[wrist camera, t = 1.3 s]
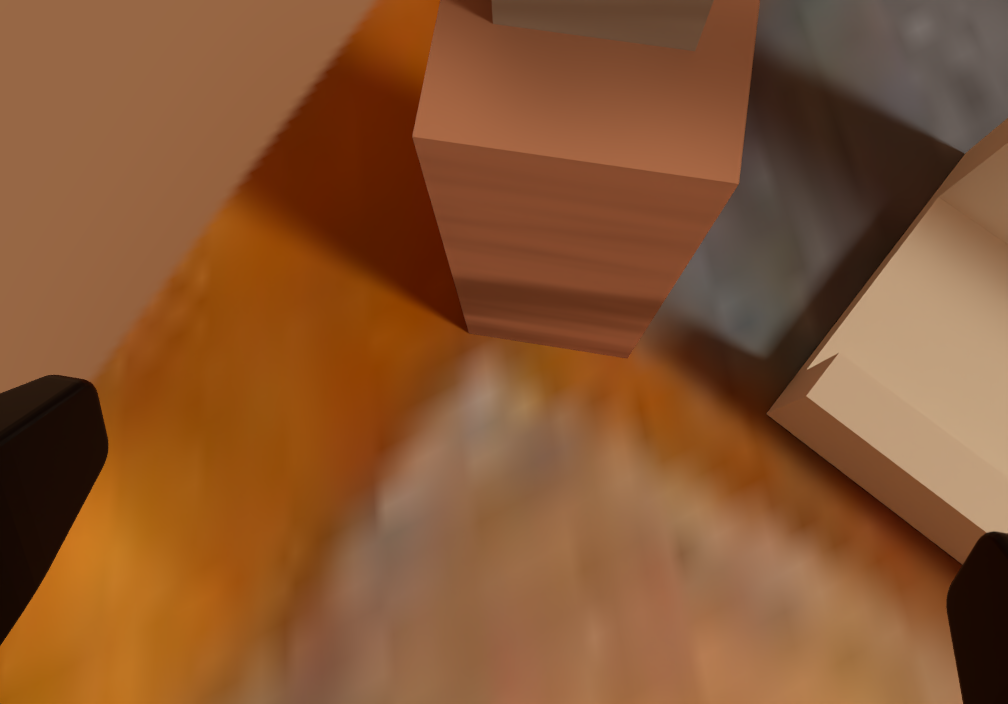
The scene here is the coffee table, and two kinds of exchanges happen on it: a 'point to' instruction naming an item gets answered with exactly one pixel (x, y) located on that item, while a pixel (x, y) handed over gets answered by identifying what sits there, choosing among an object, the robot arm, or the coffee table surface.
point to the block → (580, 156)
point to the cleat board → (924, 365)
